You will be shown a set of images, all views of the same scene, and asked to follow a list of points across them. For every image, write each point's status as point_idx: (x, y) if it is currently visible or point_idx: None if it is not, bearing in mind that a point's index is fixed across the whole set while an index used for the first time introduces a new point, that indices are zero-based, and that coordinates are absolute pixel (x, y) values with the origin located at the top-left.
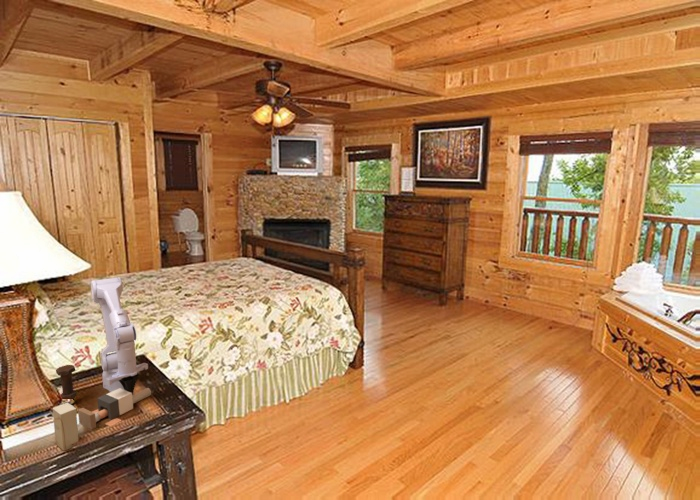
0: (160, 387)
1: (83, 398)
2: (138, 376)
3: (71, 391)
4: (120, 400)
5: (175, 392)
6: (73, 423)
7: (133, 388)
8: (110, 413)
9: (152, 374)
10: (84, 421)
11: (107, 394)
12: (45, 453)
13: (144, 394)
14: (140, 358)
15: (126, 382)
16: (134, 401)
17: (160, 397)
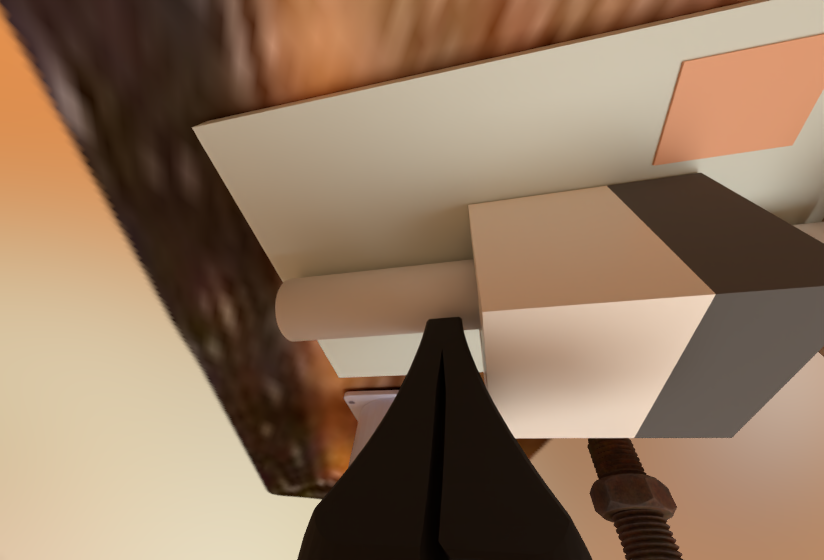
0: (227, 325)
1: (529, 443)
2: (308, 546)
3: (641, 523)
4: (661, 275)
5: (125, 209)
6: None
7: (419, 371)
8: (748, 202)
9: (250, 420)
10: None
11: (633, 430)
12: None
13: (332, 289)
14: (272, 488)
15: (577, 539)
16: (427, 267)
17: (240, 227)
